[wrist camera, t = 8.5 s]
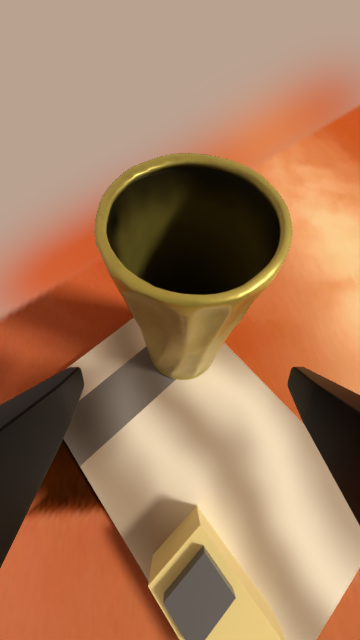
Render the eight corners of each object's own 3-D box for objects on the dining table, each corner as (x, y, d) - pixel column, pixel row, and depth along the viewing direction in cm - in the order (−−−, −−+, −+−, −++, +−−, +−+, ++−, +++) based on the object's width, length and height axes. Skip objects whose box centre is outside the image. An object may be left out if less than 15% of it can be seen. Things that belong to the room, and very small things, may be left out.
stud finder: (273, 611, 13) (300, 671, 10) (228, 677, 12) (244, 764, 9) (196, 505, 15) (201, 530, 12) (152, 555, 14) (146, 595, 11)
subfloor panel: (244, 728, 12) (249, 751, 11) (41, 392, 18) (35, 391, 17) (381, 508, 15) (391, 514, 15) (171, 292, 22) (171, 288, 21)
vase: (152, 312, 20) (100, 137, 6) (216, 316, 20) (295, 146, 6) (145, 377, 18) (43, 316, 4) (216, 382, 18) (336, 334, 4)
